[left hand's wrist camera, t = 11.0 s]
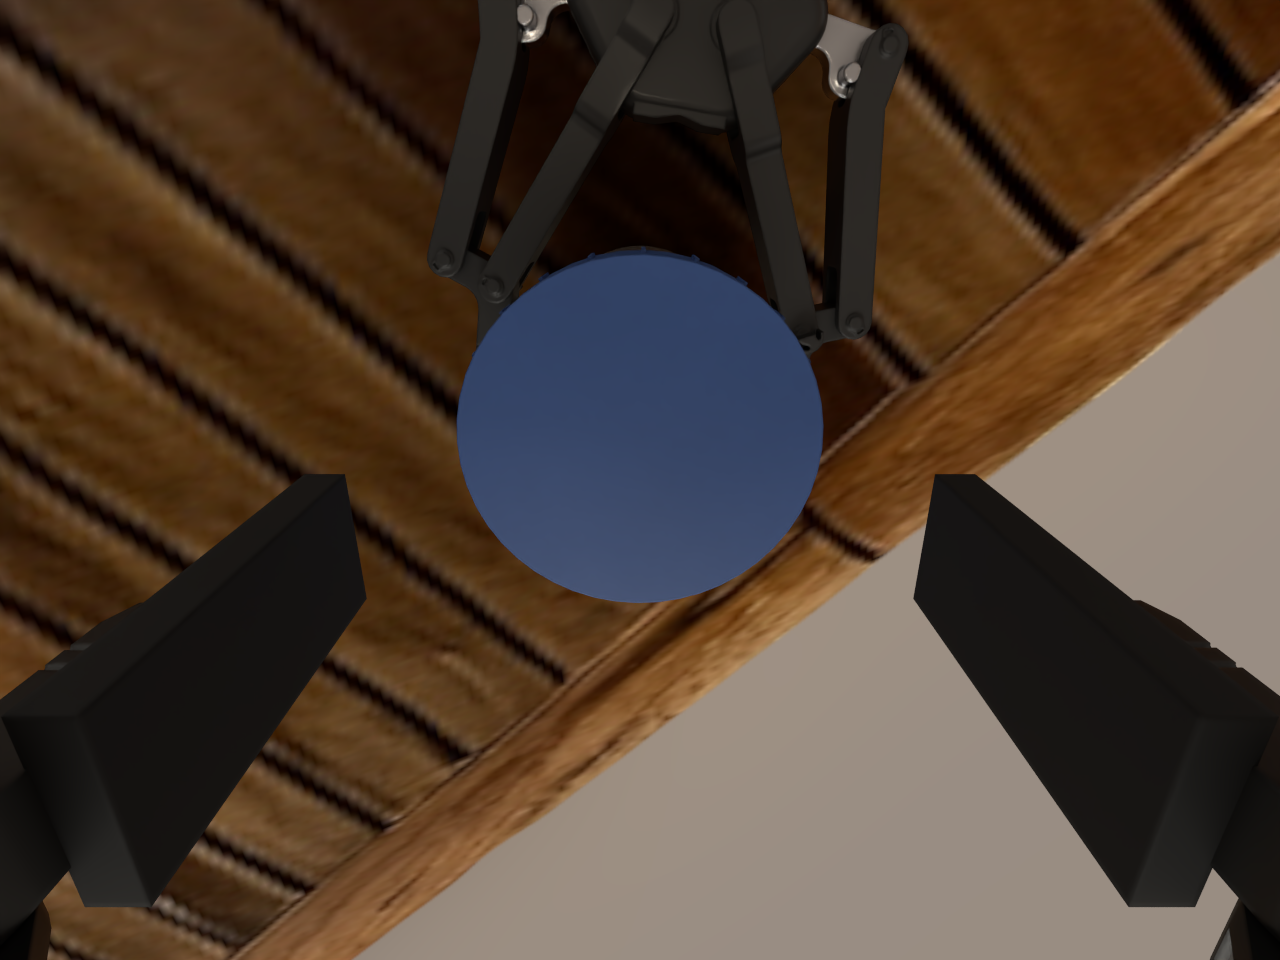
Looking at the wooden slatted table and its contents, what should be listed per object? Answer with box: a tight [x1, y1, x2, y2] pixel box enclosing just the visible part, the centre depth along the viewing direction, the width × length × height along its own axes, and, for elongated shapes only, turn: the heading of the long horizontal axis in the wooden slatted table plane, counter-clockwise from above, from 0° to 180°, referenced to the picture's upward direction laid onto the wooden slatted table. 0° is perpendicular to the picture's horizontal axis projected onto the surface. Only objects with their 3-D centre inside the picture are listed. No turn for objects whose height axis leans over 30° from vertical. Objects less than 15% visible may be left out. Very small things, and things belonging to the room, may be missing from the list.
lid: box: [457, 247, 823, 603], centre depth 19 cm, size 10×10×2 cm
